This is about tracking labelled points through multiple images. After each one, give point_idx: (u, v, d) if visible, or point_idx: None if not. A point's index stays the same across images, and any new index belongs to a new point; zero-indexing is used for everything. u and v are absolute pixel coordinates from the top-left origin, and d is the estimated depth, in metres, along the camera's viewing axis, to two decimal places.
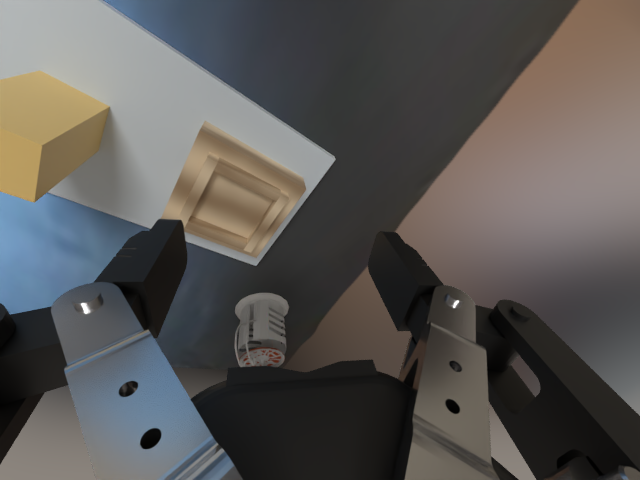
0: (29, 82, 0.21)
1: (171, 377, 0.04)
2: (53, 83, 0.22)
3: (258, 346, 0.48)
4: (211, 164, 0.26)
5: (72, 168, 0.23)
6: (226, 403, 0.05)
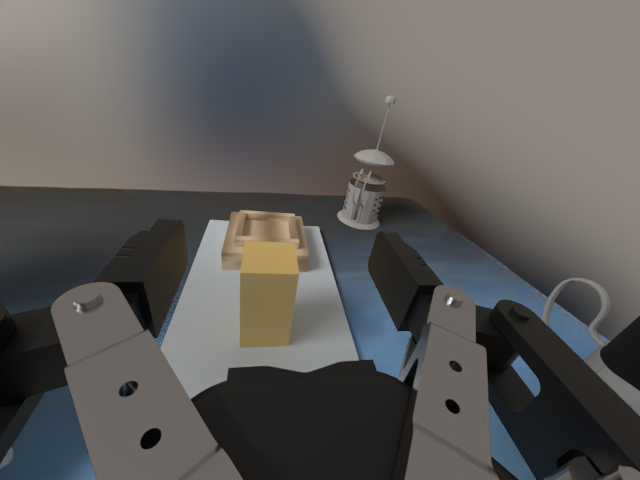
0: None
1: (171, 377, 0.04)
2: None
3: (377, 197, 0.60)
4: (238, 237, 0.37)
5: None
6: (226, 403, 0.05)
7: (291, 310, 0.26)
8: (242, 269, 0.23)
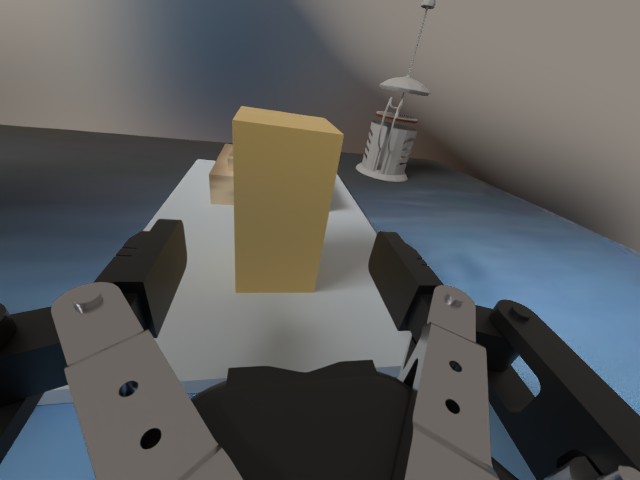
0: None
1: (171, 377, 0.04)
2: None
3: None
4: None
5: None
6: (226, 403, 0.05)
7: (324, 219, 0.15)
8: (237, 118, 0.12)
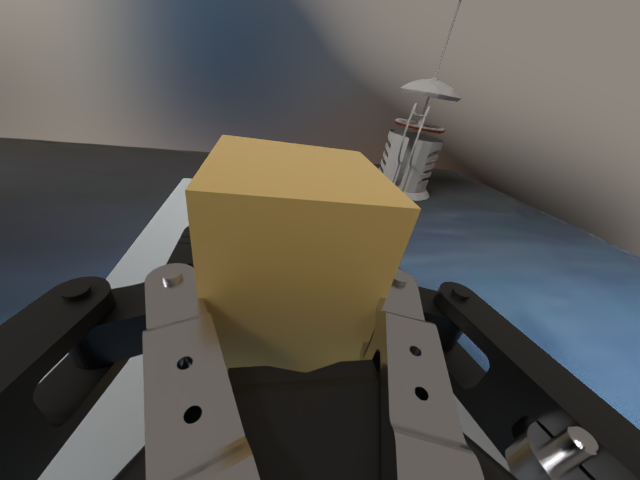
0: None
1: (220, 362, 0.05)
2: None
3: None
4: None
5: None
6: None
7: (364, 337, 0.08)
8: (199, 182, 0.05)
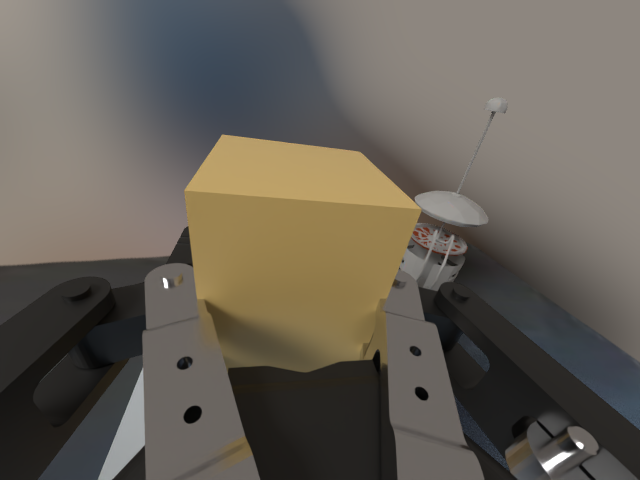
0: None
1: (220, 362, 0.05)
2: None
3: (442, 261, 0.37)
4: None
5: None
6: None
7: (365, 338, 0.08)
8: (198, 182, 0.05)
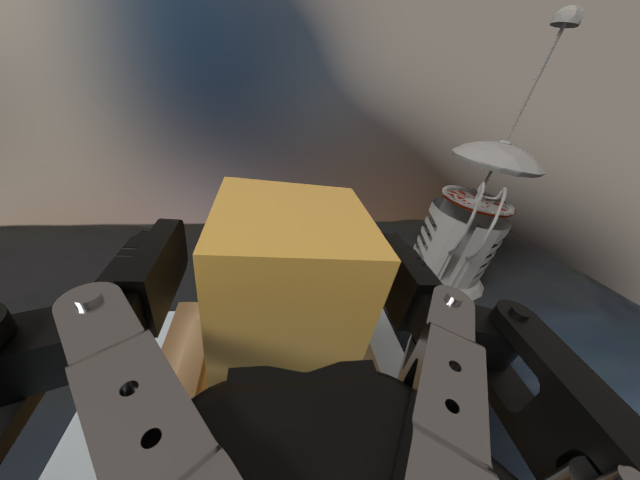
0: None
1: (171, 377, 0.04)
2: None
3: None
4: None
5: None
6: (226, 403, 0.05)
7: None
8: (204, 243, 0.06)
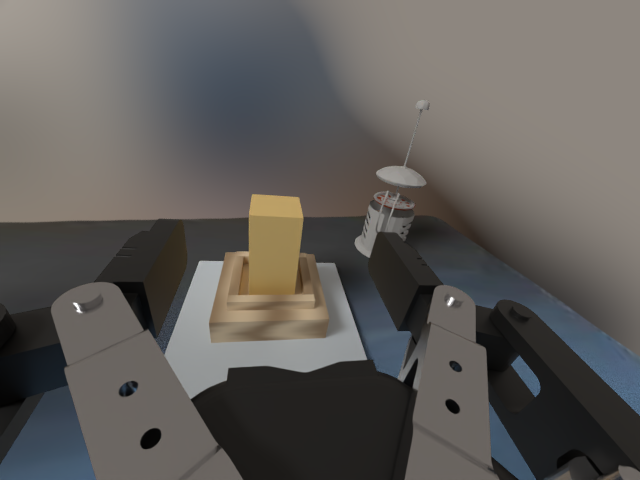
0: None
1: (171, 377, 0.04)
2: None
3: None
4: (232, 297, 0.27)
5: None
6: (226, 403, 0.05)
7: (296, 257, 0.27)
8: (251, 213, 0.25)
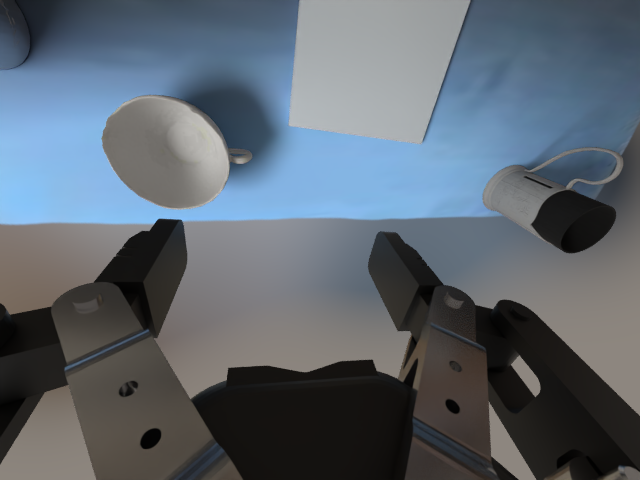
0: None
1: (171, 377, 0.04)
2: None
3: None
4: None
5: None
6: (226, 403, 0.05)
7: None
8: None
